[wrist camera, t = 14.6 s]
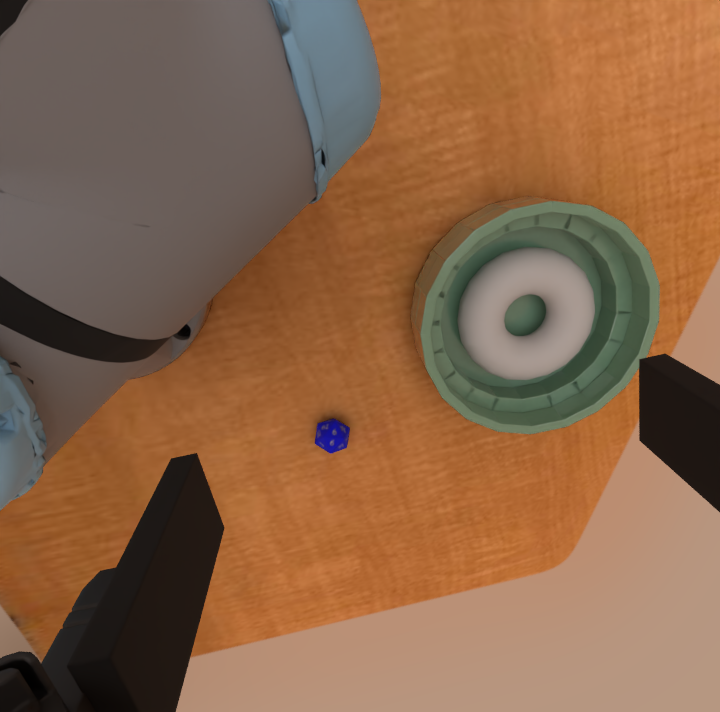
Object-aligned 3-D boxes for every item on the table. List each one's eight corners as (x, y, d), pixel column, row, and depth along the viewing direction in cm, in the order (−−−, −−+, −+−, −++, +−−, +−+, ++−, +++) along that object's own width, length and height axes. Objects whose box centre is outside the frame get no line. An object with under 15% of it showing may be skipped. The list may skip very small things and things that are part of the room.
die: (355, 423, 43) (353, 457, 41) (327, 427, 44) (324, 461, 42) (340, 409, 41) (337, 444, 39) (311, 413, 42) (307, 448, 40)
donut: (605, 313, 40) (535, 213, 37) (630, 327, 37) (555, 219, 34) (501, 393, 42) (425, 304, 39) (516, 413, 39) (435, 318, 36)
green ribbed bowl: (427, 421, 43) (439, 453, 38) (393, 222, 37) (403, 232, 32) (621, 381, 43) (658, 408, 38) (619, 175, 37) (661, 177, 32)
